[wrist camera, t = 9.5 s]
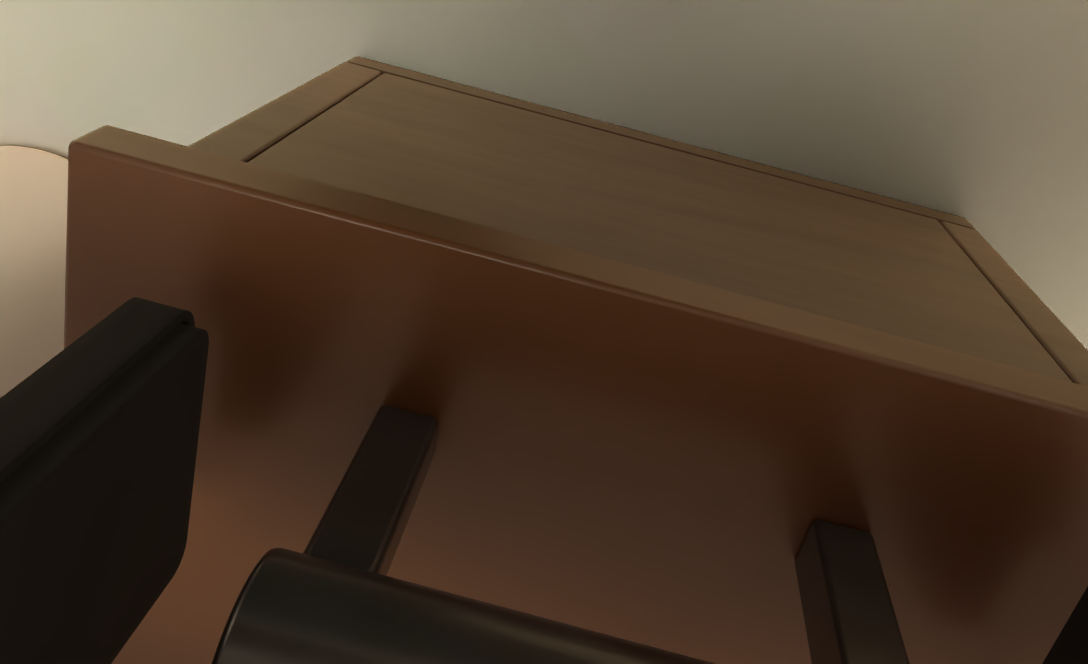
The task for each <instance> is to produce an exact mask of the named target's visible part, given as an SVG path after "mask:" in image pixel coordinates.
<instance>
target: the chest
mask: <svg viewBox="0 0 1088 664" xmlns="http://www.w3.org/2000/svg"><path fill="white" fill-rule="evenodd" d="M188 147H191V148H194V149H198V150H202V151H206V152H209V153H213V154H217V155H221V156H224V157H228V158H232V159H236V160H239V161H243V162H247V163H251V164H254V165H258V166H262V167H266V168H269V169H273V170H277V171H281V172H284V173H288V174H292V175H296V176H299V177H303V178H307V179H311V180H314V181H318V182H322V183H326V184H329V185H333V186H337V187H341V188H344V189H348V190H352V191H356V192H359V193H363V194H367V195H371V196H374V197H378V198H382V199H386V200H389V201H393V202H397V203H401V204H405V205H408V206H412V207H416V208H420V209H423V210H427V211H431V212H435V213H438V214H442V215H446V216H450V217H453V218H457V219H461V220H465V221H468V222H472V223H476V224H480V225H483V226H487V227H491V228H495V229H498V230H502V231H506V232H510V233H513V234H517V235H521V236H525V237H528V238H532V239H536V240H540V241H543V242H547V243H551V244H555V245H558V246H562V247H566V248H570V249H573V250H577V251H581V252H585V253H588V254H592V255H596V256H600V257H603V258H607V259H611V260H615V261H618V262H622V263H626V264H630V265H633V266H637V267H641V268H645V269H648V270H652V271H656V272H660V273H663V274H667V275H671V276H675V277H678V278H682V279H686V280H690V281H693V282H697V283H701V284H705V285H708V286H712V287H716V288H720V289H723V290H727V291H731V292H735V293H738V294H742V295H746V296H750V297H753V298H757V299H761V300H765V301H768V302H772V303H776V304H780V305H784V306H787V307H791V308H795V309H799V310H802V311H806V312H810V313H814V314H817V315H821V316H825V317H829V318H832V319H836V320H840V321H844V322H847V323H851V324H855V325H859V326H862V327H866V328H870V329H874V330H877V331H881V332H885V333H889V334H892V335H896V336H900V337H904V338H907V339H911V340H915V341H919V342H922V343H926V344H930V345H934V346H937V347H941V348H945V349H949V350H952V351H956V352H960V353H964V354H967V355H971V356H975V357H979V358H982V359H986V360H990V361H994V362H997V363H1001V364H1005V365H1009V366H1012V367H1016V368H1020V369H1024V370H1027V371H1031V372H1035V373H1039V374H1042V375H1046V376H1050V377H1054V378H1057V379H1061V380H1065V381H1069V382H1072V383H1076V384H1080V385H1084V386H1087V387H1088V350H1087V349H1086V348H1085V347H1084V346H1083V345H1082V344H1081V343H1080V342H1079V341H1078V340H1077V339H1076V337H1075V336H1074V335H1073V334H1072V333H1071V332H1070V331H1069V330H1068V329H1067V328H1066V327H1065V326H1064V324H1063V323H1062V322H1061V321H1060V320H1059V319H1058V318H1057V317H1056V316H1055V315H1054V314H1053V313H1052V311H1051V310H1050V309H1049V308H1048V307H1047V306H1046V305H1045V304H1044V303H1043V302H1042V301H1041V300H1040V298H1039V297H1038V296H1037V295H1036V294H1035V293H1034V292H1033V291H1032V290H1031V289H1030V288H1029V287H1028V285H1027V284H1026V283H1025V282H1024V281H1023V280H1022V279H1021V278H1020V277H1019V276H1018V275H1017V274H1016V272H1015V271H1014V270H1013V269H1012V268H1011V267H1010V266H1009V265H1008V264H1007V263H1006V262H1005V261H1004V259H1003V258H1002V257H1001V256H1000V255H999V254H998V253H997V252H996V251H995V250H994V249H993V248H992V246H991V245H990V244H989V243H988V242H987V241H986V240H985V239H984V238H983V237H982V236H981V235H980V233H979V232H978V231H976V230H975V228H974V227H973V226H972V225H971V224H970V223H969V222H968V221H967V220H966V219H965V218H962V217H958V216H955V215H951V214H947V213H943V212H940V211H936V210H932V209H928V208H925V207H921V206H917V205H913V204H910V203H906V202H902V201H898V200H895V199H891V198H887V197H883V196H880V195H876V194H872V193H868V192H865V191H861V190H857V189H853V188H850V187H846V186H842V185H838V184H835V183H831V182H827V181H823V180H820V179H816V178H812V177H808V176H805V175H801V174H797V173H793V172H790V171H786V170H782V169H778V168H774V167H771V166H767V165H763V164H759V163H756V162H752V161H748V160H744V159H741V158H737V157H733V156H729V155H726V154H722V153H718V152H714V151H711V150H707V149H703V148H699V147H696V146H692V145H688V144H684V143H681V142H677V141H673V140H669V139H666V138H662V137H658V136H654V135H651V134H647V133H643V132H639V131H636V130H632V129H628V128H624V127H621V126H617V125H613V124H609V123H606V122H602V121H598V120H594V119H591V118H587V117H583V116H579V115H576V114H572V113H568V112H564V111H560V110H557V109H553V108H549V107H545V106H542V105H538V104H534V103H530V102H527V101H523V100H519V99H515V98H512V97H508V96H504V95H500V94H497V93H493V92H489V91H485V90H482V89H478V88H474V87H470V86H467V85H463V84H459V83H455V82H452V81H448V80H444V79H440V78H437V77H433V76H429V75H425V74H422V73H418V72H414V71H410V70H407V69H403V68H399V67H395V66H392V65H388V64H384V63H380V62H377V61H373V60H369V59H365V58H362V57H354V58H352V59H350V60H349V61H347V62H344V63H342V64H340V65H338V66H336V67H334V68H333V69H331V70H329V71H327V72H325V73H323V74H321V75H320V76H318V77H316V78H314V79H312V80H310V81H308V82H307V83H305V84H303V85H301V86H299V87H297V88H295V89H294V90H292V91H290V92H288V93H286V94H284V95H282V96H281V97H279V98H277V99H275V100H273V101H271V102H269V103H268V104H266V105H264V106H262V107H260V108H258V109H256V110H255V111H253V112H251V113H249V114H247V115H245V116H244V117H242V118H240V119H238V120H236V121H234V122H232V123H231V124H229V125H227V126H225V127H223V128H221V129H219V130H218V131H216V132H214V133H212V134H210V135H208V136H206V137H205V138H203V139H201V140H199V141H197V142H195V143H193V144H192V145H190V146H188Z"/></svg>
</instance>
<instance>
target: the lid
mask: <svg viewBox="0 0 1088 664" xmlns="http://www.w3.org/2000/svg"><path fill="white" fill-rule="evenodd" d="M133 297H138V298H142V299H146V300H150V301H153V302H157V303H161V304H165V305H168V306H172V307H176V308H180V309H183V310H187V311H190V312H191V313H192V315H193V316H194V322H195V327H197V328H200V329H204V330H206V331H207V332H208V336H209V349H208V357H207V366H206V375H205V384H204V393H203V402H202V411H201V420H200V429H199V438H198V447H197V456H196V465H195V473H194V482H193V491H192V500H191V509H190V518H189V527H188V536H187V543H186V548H185V551H184V555H183V558H182V560H181V563H180V565H179V567H178V569H177V571H176V573H175V575H174V576H173V578H172V579H171V581H170V582H169V584H168V585H167V586H166V588H165V589H164V591H163V592H162V593H161V595H160V596H159V598H158V599H157V600H156V602H155V603H154V605H153V606H152V607H151V609H150V610H149V612H148V613H147V614H146V616H145V617H144V619H143V620H142V621H141V623H140V624H139V626H138V627H137V628H136V630H135V631H134V633H133V634H132V635H131V637H130V638H129V640H128V641H127V642H126V644H125V645H124V647H123V648H122V649H121V651H120V652H119V654H118V655H117V656H116V658H115V659H114V661H113V662H112V663H111V664H1042V663H1043V662H1044V660H1045V658H1046V656H1047V655H1048V653H1049V651H1050V650H1051V648H1052V646H1053V644H1054V643H1055V641H1056V639H1057V638H1058V636H1059V634H1060V633H1061V631H1062V629H1063V627H1064V626H1065V624H1066V622H1067V621H1068V619H1069V617H1070V615H1071V614H1072V612H1073V610H1074V609H1075V607H1076V605H1077V603H1078V602H1079V600H1080V598H1081V597H1082V595H1083V593H1084V592H1085V590H1086V588H1087V586H1088V387H1087V386H1084V385H1080V384H1076V383H1072V382H1069V381H1065V380H1061V379H1057V378H1054V377H1050V376H1046V375H1042V374H1039V373H1035V372H1031V371H1027V370H1024V369H1020V368H1016V367H1012V366H1009V365H1005V364H1001V363H997V362H994V361H990V360H986V359H982V358H979V357H975V356H971V355H967V354H964V353H960V352H956V351H952V350H949V349H945V348H941V347H937V346H934V345H930V344H926V343H922V342H919V341H915V340H911V339H907V338H904V337H900V336H896V335H892V334H889V333H885V332H881V331H877V330H874V329H870V328H866V327H862V326H859V325H855V324H851V323H847V322H844V321H840V320H836V319H832V318H829V317H825V316H821V315H817V314H814V313H810V312H806V311H802V310H799V309H795V308H791V307H787V306H784V305H780V304H776V303H772V302H768V301H765V300H761V299H757V298H753V297H750V296H746V295H742V294H738V293H735V292H731V291H727V290H723V289H720V288H716V287H712V286H708V285H705V284H701V283H697V282H693V281H690V280H686V279H682V278H678V277H675V276H671V275H667V274H663V273H660V272H656V271H652V270H648V269H645V268H641V267H637V266H633V265H630V264H626V263H622V262H618V261H615V260H611V259H607V258H603V257H600V256H596V255H592V254H588V253H585V252H581V251H577V250H573V249H570V248H566V247H562V246H558V245H555V244H551V243H547V242H543V241H540V240H536V239H532V238H528V237H525V236H521V235H517V234H513V233H510V232H506V231H502V230H498V229H495V228H491V227H487V226H483V225H480V224H476V223H472V222H468V221H465V220H461V219H457V218H453V217H450V216H446V215H442V214H438V213H435V212H431V211H427V210H423V209H420V208H416V207H412V206H408V205H405V204H401V203H397V202H393V201H389V200H386V199H382V198H378V197H374V196H371V195H367V194H363V193H359V192H356V191H352V190H348V189H344V188H341V187H337V186H333V185H329V184H326V183H322V182H318V181H314V180H311V179H307V178H303V177H299V176H296V175H292V174H288V173H284V172H281V171H277V170H273V169H269V168H266V167H262V166H258V165H254V164H251V163H247V162H243V161H239V160H236V159H232V158H228V157H224V156H221V155H217V154H213V153H209V152H206V151H202V150H198V149H194V148H191V147H187V146H183V145H179V144H176V143H172V142H168V141H164V140H161V139H157V138H153V137H149V136H146V135H142V134H138V133H134V132H131V131H127V130H123V129H119V128H116V127H112V126H103V127H101V128H98V129H96V130H94V131H92V132H90V133H88V134H86V135H84V136H82V137H80V138H78V139H76V140H74V141H72V142H71V143H70V145H69V156H68V196H67V237H66V277H65V318H64V349H65V348H66V347H68V346H69V345H70V344H72V343H73V342H74V341H75V340H77V339H78V338H79V337H81V336H82V335H83V334H85V333H86V332H87V331H89V330H90V329H91V328H92V327H94V326H95V325H96V324H98V323H99V322H100V321H102V320H103V319H104V318H106V317H107V316H108V315H109V314H111V313H112V312H113V311H115V310H116V309H117V308H119V307H120V306H121V305H123V304H124V303H125V302H126V301H128V300H129V299H131V298H133Z"/></svg>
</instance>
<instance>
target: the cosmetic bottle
mask: <svg viewBox="0 0 1088 664" xmlns="http://www.w3.org/2000/svg"><path fill="white" fill-rule="evenodd" d="M67 196H68V159H66V158H63V157H61V156H59V155H56V154H53V153H49V152H46V151H43V150H39V149H34V148H28V147H21V146H0V398H1V397H2V396H4V395H5V394H6V393H8V392H9V391H10V390H12V389H13V388H14V387H15V386H17V385H18V384H19V383H21V382H22V381H23V380H25V379H26V378H27V377H28V376H30V375H31V374H32V373H34V372H35V371H36V370H38V369H39V368H40V367H42V366H43V365H44V364H45V363H47V362H48V361H49V360H51V359H52V358H53V357H55V356H56V355H57V354H59V353H60V352H61V351H62V350H64V318H65V277H66V237H67Z"/></svg>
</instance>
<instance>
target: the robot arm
mask: <svg viewBox="0 0 1088 664" xmlns="http://www.w3.org/2000/svg"><path fill="white" fill-rule="evenodd" d="M208 349H209V336H208V332H207V331H206V330H204V329H200V328H197V327H195V322H194V316H193V315H192V313H191V312H190V311H187V310H183V309H180V308H176V307H172V306H168V305H165V304H161V303H157V302H153V301H150V300H146V299H142V298H138V297H133V298H131V299H129V300H128V301H126V302H125V303H124V304H123V305H121V306H120V307H119V308H117V309H116V310H115V311H113V312H112V313H111V314H109V315H108V316H107V317H106V318H104V319H103V320H102V321H100V322H99V323H98V324H96V325H95V326H94V327H92V328H91V329H90V330H89V331H87V332H86V333H85V334H83V335H82V336H81V337H79V338H78V339H77V340H75V341H74V342H73V343H72V344H70V345H69V346H68V347H66V348H65V349H64V350H62V351H61V352H60V353H59V354H57V355H56V356H55V357H53V358H52V359H51V360H49V361H48V362H47V363H45V364H44V365H43V366H42V367H40V368H39V369H38V370H36V371H35V372H34V373H32V374H31V375H30V376H28V377H27V378H26V379H25V380H23V381H22V382H21V383H19V384H18V385H17V386H15V387H14V388H13V389H12V390H10V391H9V392H8V393H6V394H5V395H4V396H2V397H1V398H0V664H111V663H112V662H113V661H114V659H115V658H116V656H117V655H118V654H119V652H120V651H121V649H122V648H123V647H124V645H125V644H126V642H127V641H128V640H129V638H130V637H131V635H132V634H133V633H134V631H135V630H136V628H137V627H138V626H139V624H140V623H141V621H142V620H143V619H144V617H145V616H146V614H147V613H148V612H149V610H150V609H151V607H152V606H153V605H154V603H155V602H156V600H157V599H158V598H159V596H160V595H161V593H162V592H163V591H164V589H165V588H166V586H167V585H168V584H169V582H170V581H171V579H172V578H173V576H174V575H175V573H176V571H177V569H178V567H179V565H180V563H181V560H182V558H183V555H184V551H185V548H186V543H187V536H188V527H189V518H190V509H191V500H192V491H193V482H194V473H195V465H196V456H197V447H198V438H199V429H200V420H201V411H202V402H203V393H204V384H205V375H206V366H207V357H208ZM1042 664H1088V586H1087V588H1086V590H1085V592H1084V593H1083V595H1082V597H1081V598H1080V600H1079V602H1078V603H1077V605H1076V607H1075V609H1074V610H1073V612H1072V614H1071V615H1070V617H1069V619H1068V621H1067V622H1066V624H1065V626H1064V627H1063V629H1062V631H1061V633H1060V634H1059V636H1058V638H1057V639H1056V641H1055V643H1054V644H1053V646H1052V648H1051V650H1050V651H1049V653H1048V655H1047V656H1046V658H1045V660H1044V662H1043V663H1042Z"/></svg>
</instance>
